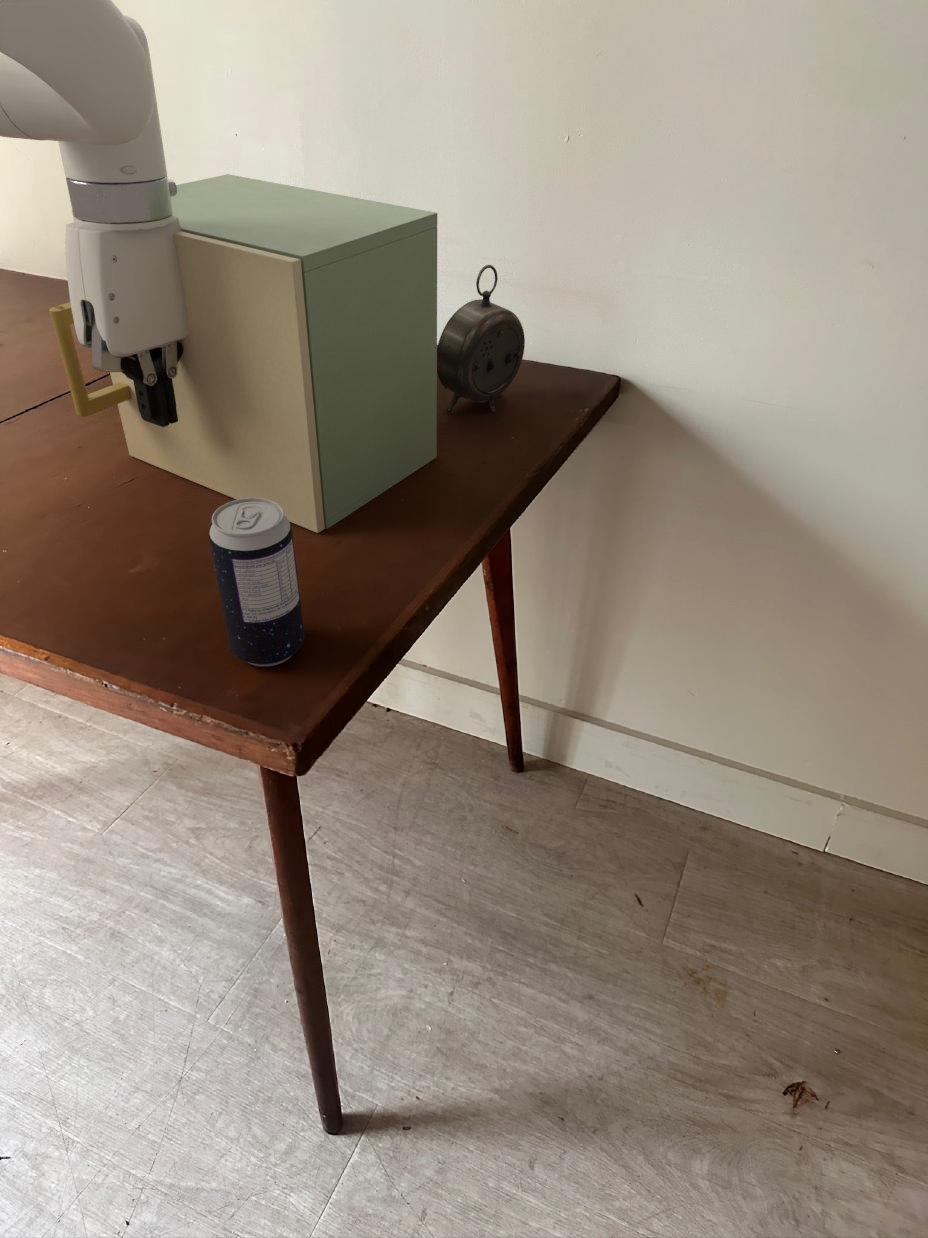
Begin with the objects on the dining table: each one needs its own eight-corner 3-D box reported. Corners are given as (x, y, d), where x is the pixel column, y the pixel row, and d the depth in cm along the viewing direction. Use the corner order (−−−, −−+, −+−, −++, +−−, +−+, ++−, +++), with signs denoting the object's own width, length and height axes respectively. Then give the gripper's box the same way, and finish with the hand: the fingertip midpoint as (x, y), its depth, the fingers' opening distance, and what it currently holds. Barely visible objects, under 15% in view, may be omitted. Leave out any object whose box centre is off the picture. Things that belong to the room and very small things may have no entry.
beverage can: (313, 629, 69) (298, 497, 62) (295, 676, 64) (277, 539, 57) (243, 623, 69) (221, 492, 62) (221, 670, 65) (193, 533, 57)
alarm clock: (497, 387, 108) (503, 251, 98) (528, 400, 105) (539, 261, 95) (432, 411, 102) (433, 269, 92) (464, 426, 99) (468, 280, 89)
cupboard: (326, 529, 81) (303, 256, 66) (137, 453, 92) (80, 205, 77) (436, 457, 93) (437, 212, 78) (257, 397, 104) (227, 173, 89)
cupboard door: (274, 561, 76) (236, 279, 61) (83, 476, 87) (12, 221, 73) (325, 529, 81) (301, 258, 66) (136, 451, 92) (80, 206, 77)
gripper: (163, 185, 75) (193, 389, 86) (7, 208, 65) (63, 437, 75) (225, 196, 72) (248, 406, 83) (71, 222, 62) (120, 459, 72)
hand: (160, 420), depth 79 cm, fingers closed
